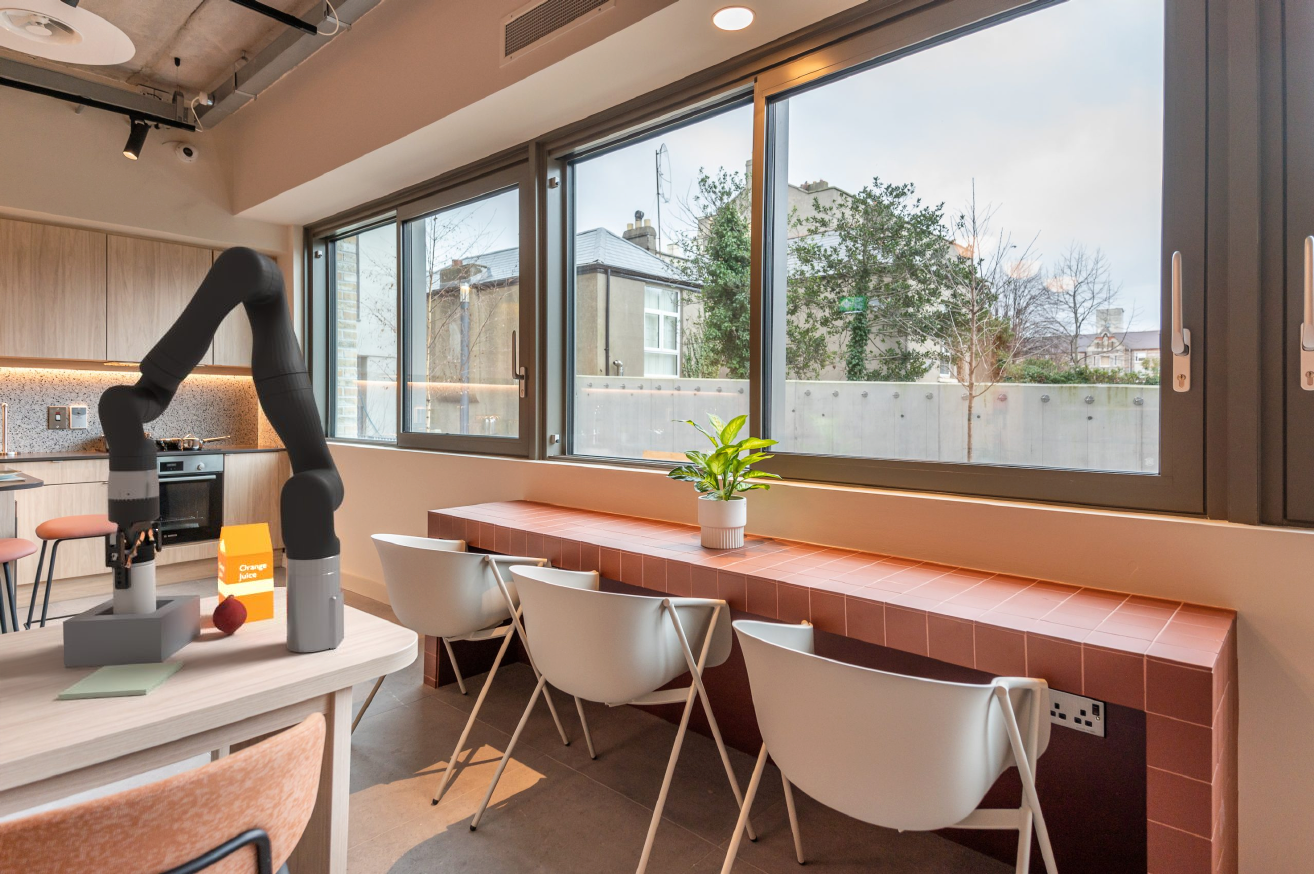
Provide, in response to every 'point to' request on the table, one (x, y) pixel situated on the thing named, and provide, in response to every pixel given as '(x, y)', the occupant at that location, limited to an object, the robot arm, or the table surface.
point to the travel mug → (138, 585)
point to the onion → (229, 615)
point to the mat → (122, 680)
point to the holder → (131, 633)
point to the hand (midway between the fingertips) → (135, 583)
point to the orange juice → (247, 569)
